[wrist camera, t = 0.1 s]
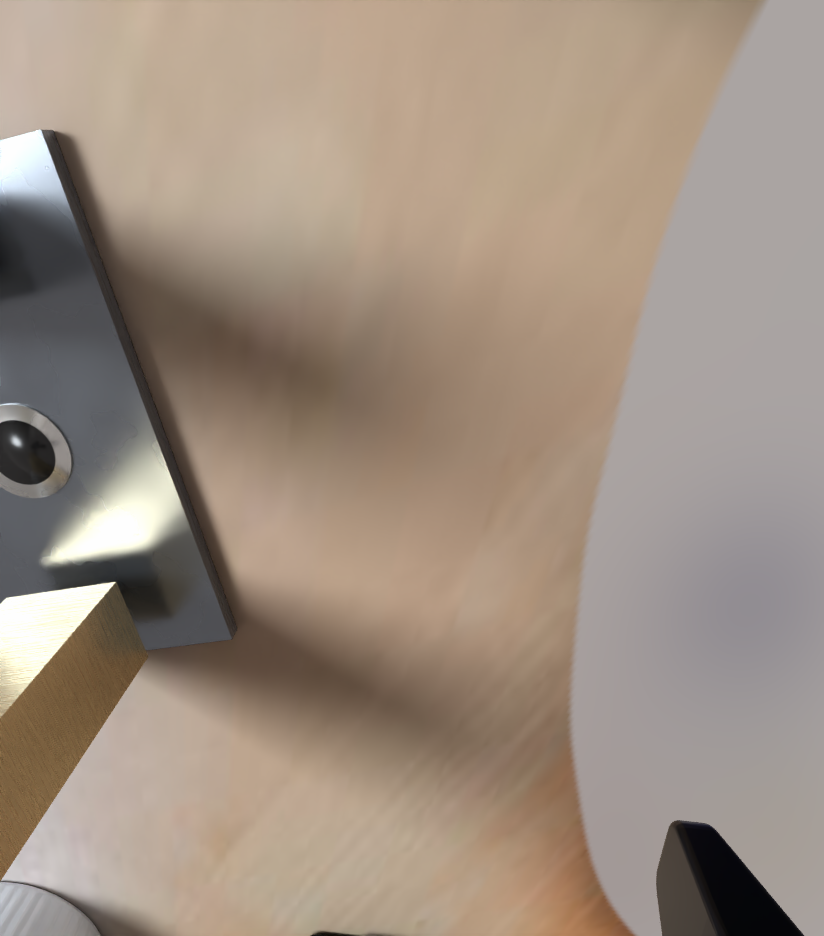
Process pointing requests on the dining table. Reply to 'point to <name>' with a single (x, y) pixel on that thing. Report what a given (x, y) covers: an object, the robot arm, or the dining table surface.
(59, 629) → the sliding leg
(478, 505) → the dining table surface
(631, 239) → the dining table surface
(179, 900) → the dining table surface
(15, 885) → the ramekin
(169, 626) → the bolt plate
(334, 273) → the dining table surface
